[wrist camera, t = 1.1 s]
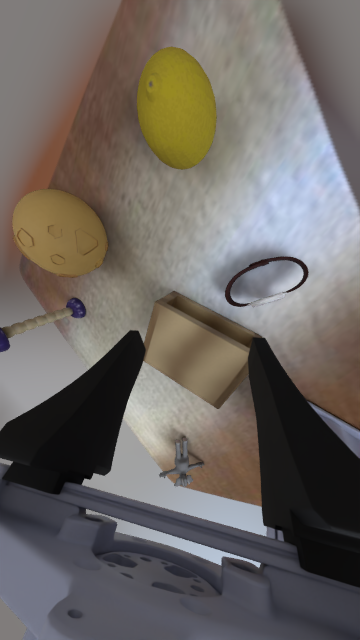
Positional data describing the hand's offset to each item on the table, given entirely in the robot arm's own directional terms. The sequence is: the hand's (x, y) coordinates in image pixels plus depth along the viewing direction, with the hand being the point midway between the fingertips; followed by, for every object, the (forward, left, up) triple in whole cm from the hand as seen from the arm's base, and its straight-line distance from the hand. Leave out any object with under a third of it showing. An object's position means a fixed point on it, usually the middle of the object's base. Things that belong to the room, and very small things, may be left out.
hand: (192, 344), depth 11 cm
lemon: (+9, -12, -12) cm, 20 cm away
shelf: (0, +8, -12) cm, 15 cm away
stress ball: (+21, +1, -12) cm, 25 cm away
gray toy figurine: (-8, +37, -12) cm, 40 cm away
